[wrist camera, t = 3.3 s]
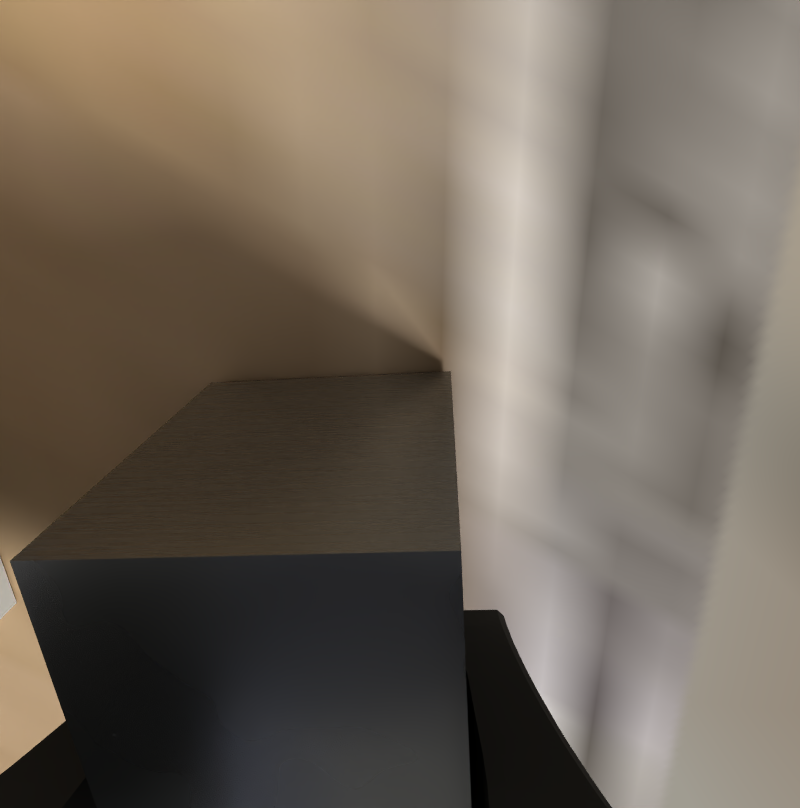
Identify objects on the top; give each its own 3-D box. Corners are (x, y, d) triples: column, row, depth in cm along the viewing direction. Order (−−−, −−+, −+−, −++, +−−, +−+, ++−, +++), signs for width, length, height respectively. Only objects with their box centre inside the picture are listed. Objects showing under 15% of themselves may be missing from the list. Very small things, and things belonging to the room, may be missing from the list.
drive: (467, 771, 13) (484, 1124, 8) (284, 770, 13) (196, 1108, 8) (451, 371, 10) (462, 557, 5) (211, 383, 10) (2, 567, 5)
